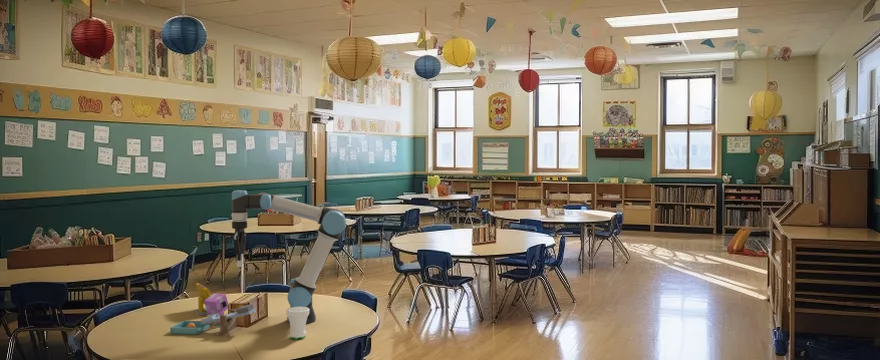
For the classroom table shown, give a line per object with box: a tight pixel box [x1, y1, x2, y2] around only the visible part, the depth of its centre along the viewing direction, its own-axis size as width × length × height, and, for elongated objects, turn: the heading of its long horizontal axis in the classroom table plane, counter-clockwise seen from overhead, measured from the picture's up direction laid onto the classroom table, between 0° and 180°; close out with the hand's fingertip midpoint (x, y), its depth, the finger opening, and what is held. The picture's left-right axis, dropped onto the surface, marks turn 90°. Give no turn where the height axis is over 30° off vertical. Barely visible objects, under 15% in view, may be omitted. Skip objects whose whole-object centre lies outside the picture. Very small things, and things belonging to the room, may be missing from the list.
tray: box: [169, 320, 211, 336], centre depth 348 cm, size 14×14×3 cm
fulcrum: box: [215, 308, 241, 337], centre depth 346 cm, size 7×14×10 cm, turn 175°
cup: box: [285, 307, 309, 340], centre depth 336 cm, size 11×11×14 cm
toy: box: [204, 292, 230, 324], centre depth 365 cm, size 11×8×15 cm
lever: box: [200, 303, 256, 325], centre depth 346 cm, size 26×10×4 cm, turn 84°
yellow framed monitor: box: [193, 282, 212, 316], centre depth 385 cm, size 20×8×16 cm, turn 34°
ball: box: [188, 323, 195, 328], centre depth 348 cm, size 4×4×4 cm
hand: (240, 266), depth 350 cm, fingers closed
